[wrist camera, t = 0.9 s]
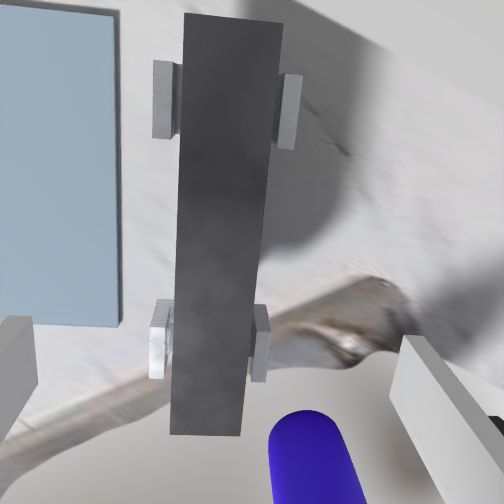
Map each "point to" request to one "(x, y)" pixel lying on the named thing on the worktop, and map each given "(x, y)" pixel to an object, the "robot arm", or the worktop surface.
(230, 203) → the rail
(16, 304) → the mat
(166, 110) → the standards
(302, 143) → the worktop surface
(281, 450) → the bottle
